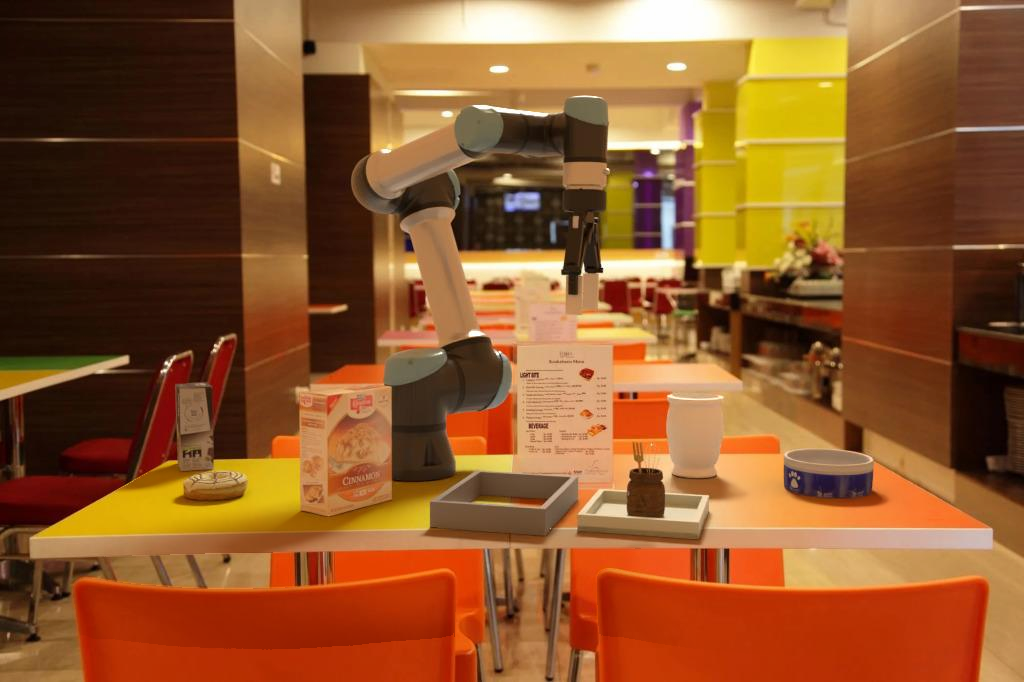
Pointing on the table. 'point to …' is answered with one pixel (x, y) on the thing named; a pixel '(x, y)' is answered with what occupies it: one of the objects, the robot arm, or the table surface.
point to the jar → (694, 433)
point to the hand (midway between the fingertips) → (582, 312)
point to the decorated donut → (215, 485)
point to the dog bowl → (828, 473)
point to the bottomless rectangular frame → (463, 515)
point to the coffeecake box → (345, 448)
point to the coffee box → (194, 426)
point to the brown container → (645, 489)
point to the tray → (612, 517)
